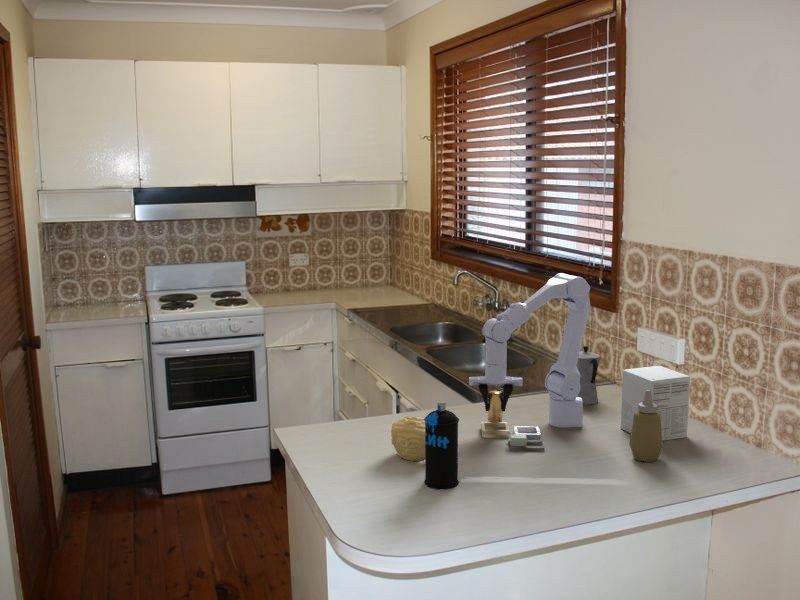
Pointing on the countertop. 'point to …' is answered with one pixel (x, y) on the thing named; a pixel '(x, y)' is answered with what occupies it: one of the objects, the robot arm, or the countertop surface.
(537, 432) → the steel socket
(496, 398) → the brass cylinder plug
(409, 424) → the sculpture
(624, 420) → the supplement box
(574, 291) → the robot arm
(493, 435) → the ash socket frame
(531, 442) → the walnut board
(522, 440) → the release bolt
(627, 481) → the countertop surface
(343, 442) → the countertop surface
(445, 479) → the aerosol can
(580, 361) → the coffeepot
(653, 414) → the squeeze bottle
